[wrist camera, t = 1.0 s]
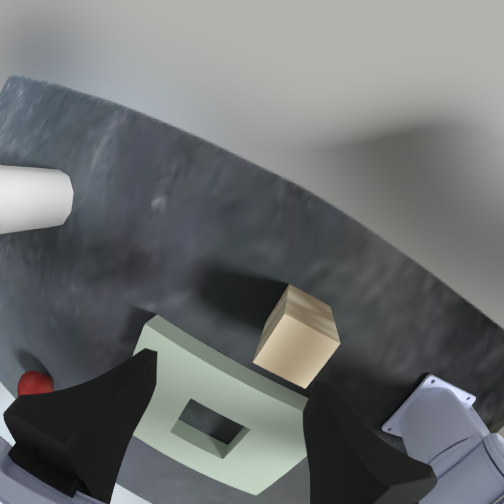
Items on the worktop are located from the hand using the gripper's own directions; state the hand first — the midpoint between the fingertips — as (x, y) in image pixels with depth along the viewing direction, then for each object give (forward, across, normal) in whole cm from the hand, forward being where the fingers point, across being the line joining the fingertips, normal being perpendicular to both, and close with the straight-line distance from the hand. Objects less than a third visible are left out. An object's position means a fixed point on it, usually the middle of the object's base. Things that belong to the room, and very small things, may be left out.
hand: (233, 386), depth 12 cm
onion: (+15, +25, +23) cm, 37 cm away
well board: (+12, 0, +16) cm, 20 cm away
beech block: (+12, -5, +1) cm, 13 cm away
